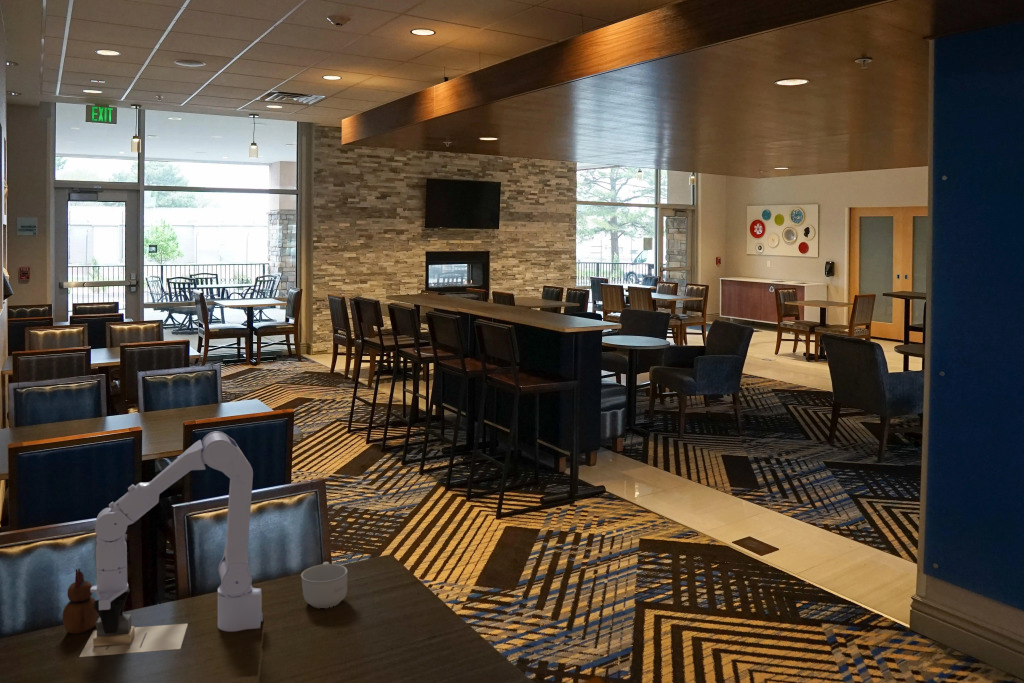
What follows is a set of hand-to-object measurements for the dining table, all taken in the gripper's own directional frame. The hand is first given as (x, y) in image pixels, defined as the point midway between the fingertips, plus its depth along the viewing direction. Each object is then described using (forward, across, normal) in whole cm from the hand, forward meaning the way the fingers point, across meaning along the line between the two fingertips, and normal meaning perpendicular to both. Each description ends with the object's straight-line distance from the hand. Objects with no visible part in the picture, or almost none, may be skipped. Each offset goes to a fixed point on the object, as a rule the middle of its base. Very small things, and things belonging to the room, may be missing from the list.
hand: (112, 628), depth 171 cm
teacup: (+4, -16, +44) cm, 47 cm away
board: (+4, 0, +4) cm, 6 cm away
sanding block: (+3, 0, 0) cm, 3 cm away
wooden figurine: (+4, -8, -8) cm, 12 cm away
